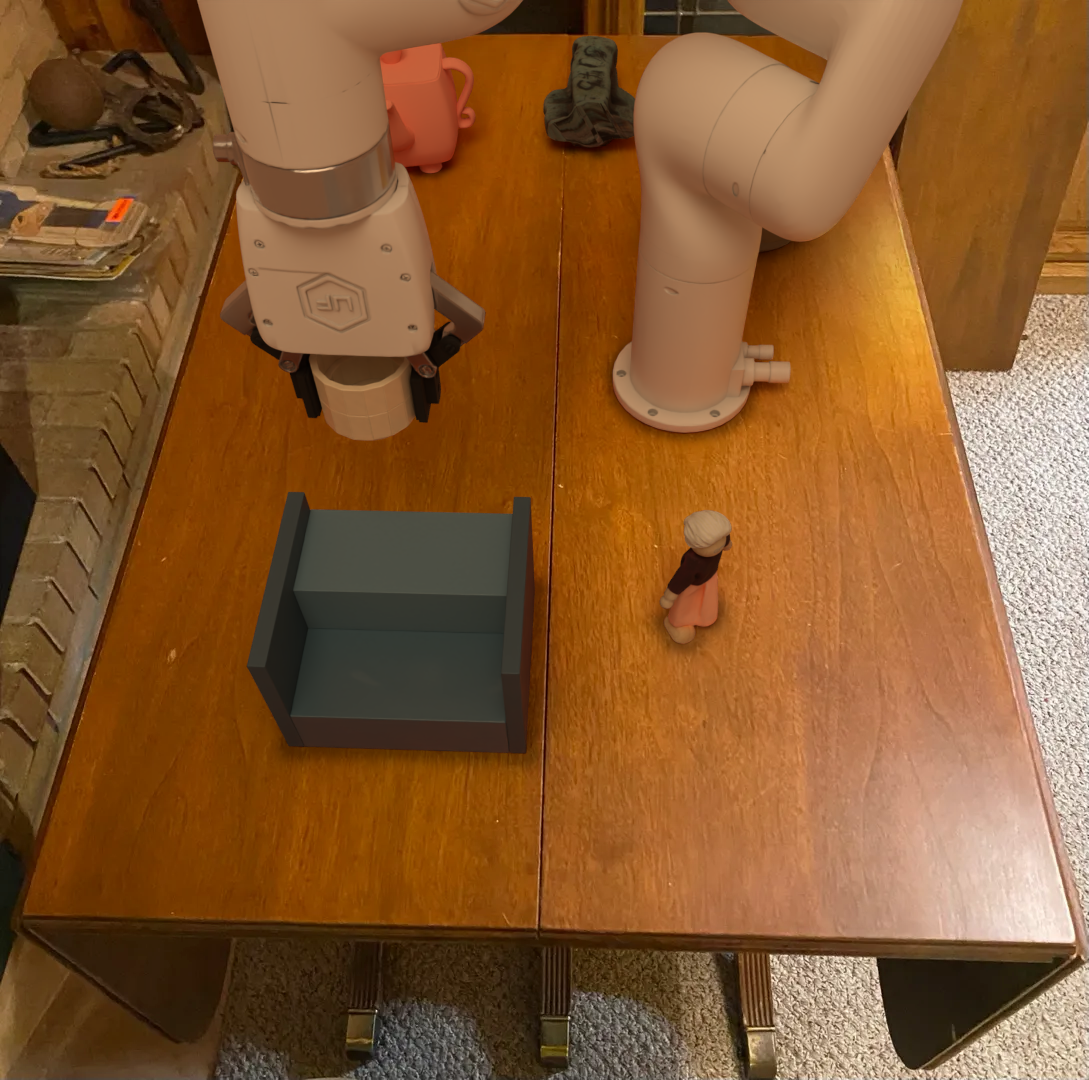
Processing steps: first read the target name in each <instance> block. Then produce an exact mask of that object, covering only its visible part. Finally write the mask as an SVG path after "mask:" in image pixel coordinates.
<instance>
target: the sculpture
mask: <svg viewBox="0 0 1089 1080" xmlns="http://www.w3.org/2000/svg"><path fill="white" fill-rule="evenodd" d="M618 56H619V48H618V44H617V43H616V41H614V40H613V39H611V38H608V37H603V36H600V35H599V36H598V35H583V36H580V37H577V38H576V39H574V41H573V43H572V45H571V59H570V66H569V67H570V72H569V75H568V78H567V85H566V87H563V88H559V89H553V90H551V92H549V93H548V94H546V96H545V98H544V101H543V105H542V106H543V107H542V112H543V115H544V117H543V121H544V127H545V133H546V136H547V137H548V138H550V139H551V140H554V141H556V142H569V143H571V146H573V147H577V148H600V147H606V146H607V145H609V144H610V142H611V141H613V140H628V139H631V138H635V137H634V117H633V114H634V103H635V97H634V96H633V95H632V94H631V93H630V92H629V91H627V90H625V89H624V88H622V87H620V86H619V79H618V69H617V64H618Z"/></svg>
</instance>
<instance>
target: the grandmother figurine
mask: <svg viewBox="0 0 1089 1080" xmlns="http://www.w3.org/2000/svg"><path fill="white" fill-rule="evenodd" d="M683 525H684V526H683V527H684V528H683V536H684V542H685V543H686V545H687V546H688V547H689V548H688V549H687V550H686V551H685V552H684V553H683V554H682V556H681V558H680V562H679V567H677V569H676V571H675V572H674V574H673V575H672V577H671V579H670V580H669V582H668V583H667V586H666V588H665V589H664V591H663V595H662V596H661V597H660V599H659V605H660V607H661V608H662V609H664V610H669V611H668V614H667V616H665V617H664V619H663V626H664V628H665V629H666V632H667V633H668V634H669V636H670V638H671V639H672V640H673V641H674V642H675V643H677V644H681V645H685V644H688V643H690V642H692V641H694V639H695V637H696V633H697V631H696V628H695V626H699V627H709V626H711V625H713V624H714V623H715V622H717V619H718V613H719V577H718V575H719V574H718V569H719V564H720V562H721V558H722V554H723V552H729V551H730V550H731V549H732V547H733V541H732V539H731V532H732V524H731V521H730V520H729V519H728V517H727V516H726V515H724V514H722V513H721V512H719V511H716V510H711V509H703V510H699V511H694V512H692V513H691V514H689V515H687V516H686V517H685V518H684V519H683Z"/></svg>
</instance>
